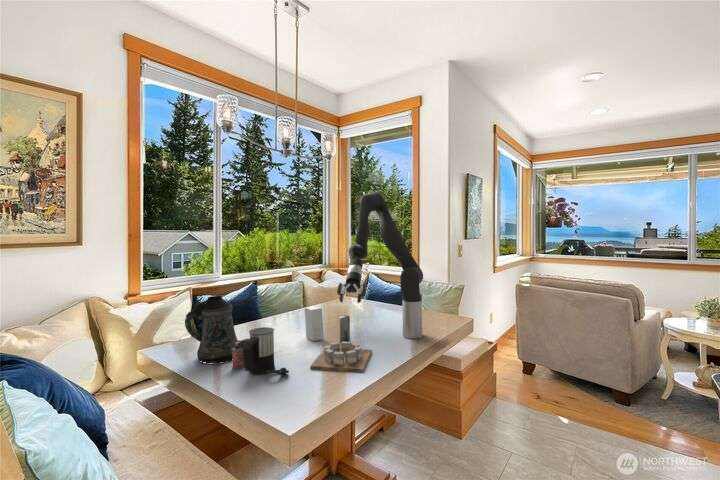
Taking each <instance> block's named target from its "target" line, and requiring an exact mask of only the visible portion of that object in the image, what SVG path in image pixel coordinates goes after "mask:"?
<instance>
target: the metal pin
mask: <svg viewBox="0 0 720 480" xmlns="http://www.w3.org/2000/svg"><path fill="white" fill-rule="evenodd" d="M350 319H351V317H350V315H347V314H346V315H345V314H343V315H340V316H339V343H340V344H341V343H342V341H344V342H351V324H350V323H351V320H350Z"/></svg>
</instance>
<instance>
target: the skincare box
mask: <svg viewBox="0 0 720 480" xmlns="http://www.w3.org/2000/svg"><path fill="white" fill-rule="evenodd" d="M323 318H324V317H323V308H322V307H319V306H316V305H312V306H307V307H304V322H305V337H306V338H307V339H309V340H311V341H312V342H316V341H323V340H324V339H325V336H324V320H323Z"/></svg>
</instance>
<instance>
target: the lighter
mask: <svg viewBox="0 0 720 480" xmlns="http://www.w3.org/2000/svg"><path fill="white" fill-rule="evenodd" d="M248 339H249V338H248V337H247V338H243V339H242V340H241V339H239V340H238V339H237V340H238V342H236V343H235V348H233V349H232V357H233V360H232V367H231V369H232V370H233V371H237V370H240V369H243V368H244V355H243V347H244V344H245V342H246V341H247V340H248Z"/></svg>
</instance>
